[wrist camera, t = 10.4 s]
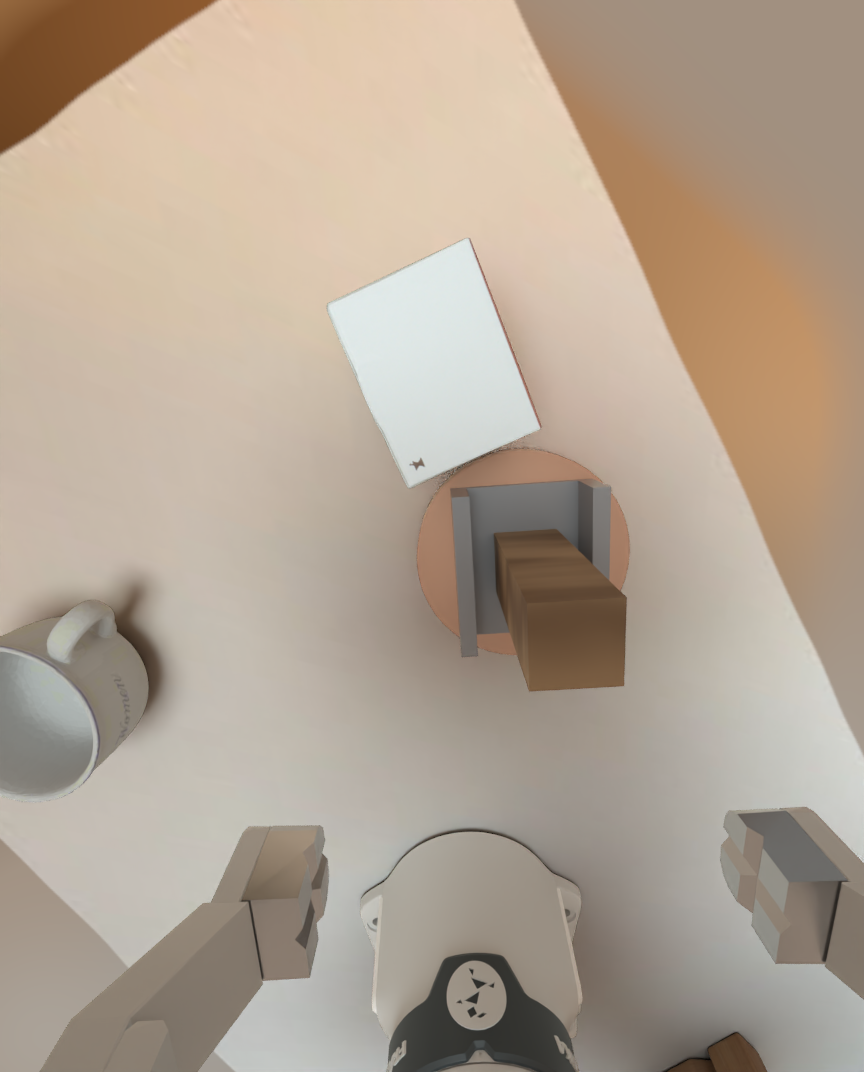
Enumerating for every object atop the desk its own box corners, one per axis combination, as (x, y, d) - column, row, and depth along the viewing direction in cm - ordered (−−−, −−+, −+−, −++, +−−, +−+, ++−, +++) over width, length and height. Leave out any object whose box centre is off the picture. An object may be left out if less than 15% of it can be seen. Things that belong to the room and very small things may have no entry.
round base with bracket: (614, 633, 37) (648, 674, 31) (425, 644, 37) (423, 688, 31) (618, 441, 33) (657, 447, 27) (410, 456, 33) (405, 465, 28)
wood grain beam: (556, 587, 33) (623, 686, 21) (496, 591, 33) (529, 691, 21) (556, 528, 32) (626, 597, 20) (493, 532, 32) (527, 603, 20)
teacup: (113, 751, 39) (34, 834, 32) (-3, 664, 38) (-117, 730, 30) (222, 637, 37) (165, 698, 29) (102, 539, 35) (8, 575, 27)
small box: (504, 424, 33) (546, 432, 20) (417, 462, 34) (405, 494, 21) (456, 304, 31) (470, 231, 19) (365, 347, 32) (319, 305, 19)
